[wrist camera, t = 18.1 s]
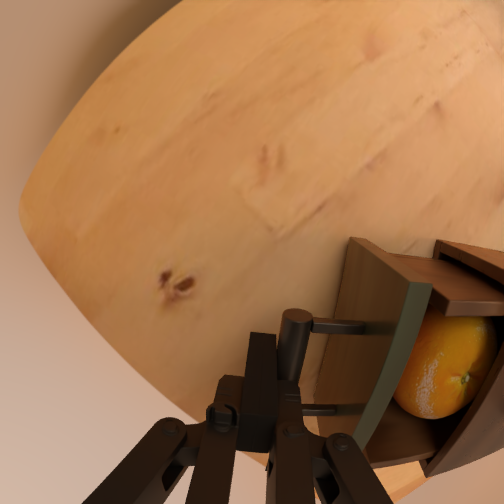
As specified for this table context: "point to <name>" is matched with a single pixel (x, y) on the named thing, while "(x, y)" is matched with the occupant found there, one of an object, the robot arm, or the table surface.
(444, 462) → the cabinet
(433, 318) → the fruit
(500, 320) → the drawer
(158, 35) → the table surface
